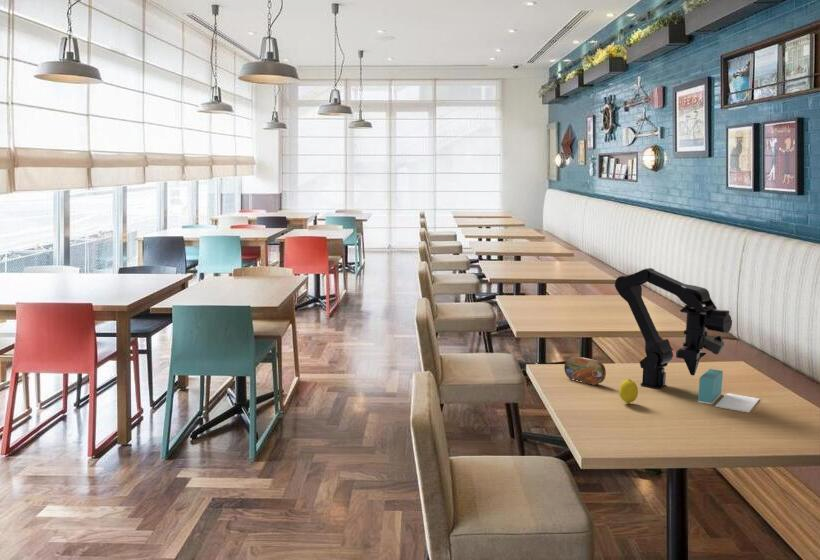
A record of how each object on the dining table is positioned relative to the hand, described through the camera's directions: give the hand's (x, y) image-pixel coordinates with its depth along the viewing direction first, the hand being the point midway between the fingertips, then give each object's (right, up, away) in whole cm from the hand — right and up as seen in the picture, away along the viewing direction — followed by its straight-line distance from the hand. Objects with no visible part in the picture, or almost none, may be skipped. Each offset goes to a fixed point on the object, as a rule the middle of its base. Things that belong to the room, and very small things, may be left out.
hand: (692, 375), depth 230 cm
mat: (+11, -8, -7) cm, 15 cm away
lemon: (-23, -8, -8) cm, 26 cm away
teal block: (+5, -7, -2) cm, 9 cm away
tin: (-31, -5, +15) cm, 35 cm away
